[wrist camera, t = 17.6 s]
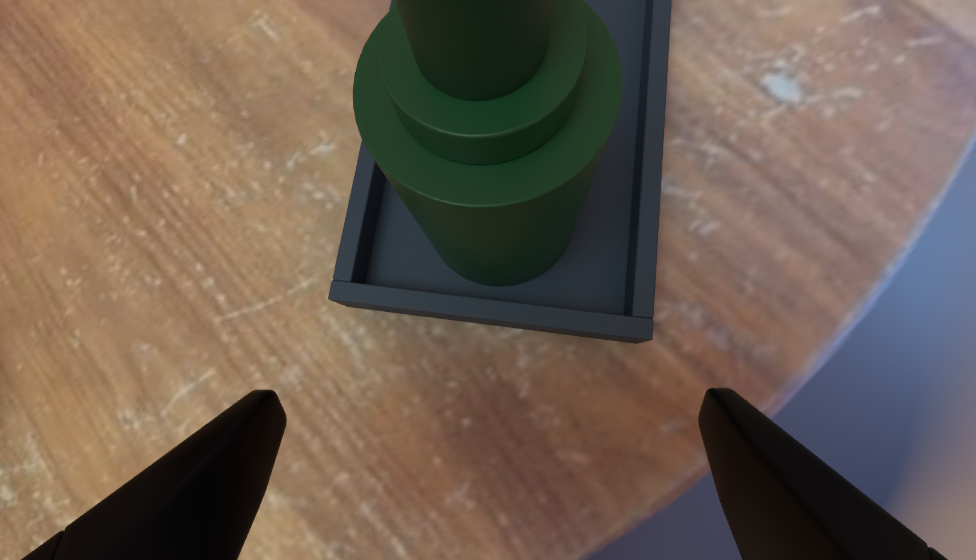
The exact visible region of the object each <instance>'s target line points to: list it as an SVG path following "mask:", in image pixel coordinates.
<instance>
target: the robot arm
mask: <svg viewBox="0 0 976 560" xmlns="http://www.w3.org/2000/svg"><path fill="white" fill-rule="evenodd" d="M286 422H287V418H286V414H285V411H284V409H283V407H282V405H281V403H280V400H279V398H278V396H277V394H276V392H274V391H273V390H254V391H252V392H250V393H248V394H247V395H246V396H244V397H243V398H242V399H240V400H239V401H238V402H236V403H235V404H233V405H232V406H231V407H229V408H228V409H227V410H225V411H224V412H222V413H221V414H220V415H218V416H217V417H216V418H214V419H213V420H212V421H210V422H209V423H207V424H206V425H205V426H203V427H202V428H201V429H199V430H198V431H197V432H195V433H194V434H192V435H191V436H190V437H188V438H187V439H186V440H184V441H183V442H182V443H180V444H179V445H177V446H176V447H175V448H173V449H172V450H171V451H169V452H168V453H167V454H165V455H164V456H162V457H161V458H160V459H158V460H157V461H156V462H154V463H153V464H151V465H150V466H149V467H147V468H146V469H145V470H143V471H142V472H141V473H139V474H138V475H136V476H135V477H134V478H132V479H131V480H130V481H128V482H127V483H126V484H124V485H123V486H121V487H120V488H119V489H117V490H116V491H115V492H113V493H112V494H110V495H109V496H108V497H106V498H105V499H104V500H102V501H101V502H100V503H98V504H97V505H95V506H94V507H93V508H91V509H90V510H89V511H87V512H86V513H84V514H83V515H82V516H80V517H79V518H78V519H76V520H75V521H74V522H72V523H71V524H69V525H68V526H67V527H66V528H65V531H64V530H63V531H60V532H58V533H57V534H56V535H54V536H53V537H52V538H50V539H49V540H47V541H46V542H45V543H43V544H42V545H41V546H39V547H38V548H37V549H35V550H34V551H32V552H31V553H30V554H28V555H27V556H25V557H24V558H23V559H21V560H237V559H238V557H239V554H240V552H241V549H242V547H243V545H244V542H245V540H246V538H247V535H248V533H249V531H250V528H251V526H252V523H253V521H254V519H255V516H256V514H257V512H258V509H259V507H260V504H261V502H262V499H263V497H264V494H265V491H266V488H267V485H268V482H269V479H270V476H271V473H272V469H273V466H274V463H275V460H276V457H277V453H278V450H279V447H280V444H281V440H282V437H283V434H284V431H285V427H286ZM698 422H699V428H700V432H701V435H702V439H703V443H704V446H705V450H706V453H707V457H708V461H709V464H710V468H711V472H712V475H713V479H714V483H715V486H716V490H717V493H718V496H719V500H720V503H721V505H722V508H723V511H724V514H725V516H726V519H727V521H728V524H729V526H730V529H731V531H732V534H733V536H734V539H735V542H736V544H737V546H738V549H739V552H740V554H741V557H742V559H743V560H948V559H946V558H945V557H944V556H943V555H941V554H940V553H939V552H937V551H936V550H935V549H933V548H931V547H928V546H927V543H926V542H925V541H923V540H922V539H921V538H920V537H918V536H917V535H916V534H914V533H913V532H912V531H911V530H909V529H908V528H907V527H906V526H904V525H903V524H902V523H901V522H899V521H898V520H897V519H895V518H894V517H893V516H892V515H890V514H889V513H888V512H887V511H885V510H884V509H883V508H882V507H880V506H879V505H878V504H876V503H875V502H874V501H873V500H871V499H870V498H869V497H867V496H866V495H865V494H864V493H862V492H861V491H860V490H859V489H858V488H856V487H855V486H853V485H852V484H851V483H850V482H849V481H847V480H846V479H845V478H843V477H842V476H841V475H840V474H838V473H837V472H836V471H835V470H833V469H832V468H831V467H830V466H828V465H827V464H826V463H824V462H823V461H822V460H821V459H820V458H818V457H817V456H816V455H814V454H813V453H812V452H811V451H809V450H808V449H807V448H806V447H804V446H803V445H802V444H800V443H799V442H798V441H797V440H795V439H794V438H793V437H792V436H790V435H789V434H788V433H787V432H785V431H784V430H783V429H781V428H780V427H779V426H778V425H776V424H775V423H774V422H773V421H771V420H770V419H769V418H768V417H766V416H765V415H764V414H763V413H761V412H760V411H759V410H758V409H756V408H755V407H754V406H753V405H751V404H750V403H749V402H747V401H746V400H745V399H744V398H742V397H741V396H740V395H739V394H737V393H736V392H735V391H733V390H732V389H729V388H709V389H708V390H707V391H706V393H705V396H704V399H703V403H702V406H701V409H700V412H699V417H698Z"/></svg>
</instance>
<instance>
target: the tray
mask: <svg viewBox="0 0 976 560" xmlns="http://www.w3.org/2000/svg"><path fill="white" fill-rule="evenodd" d="M584 1H585V2H586V3H587V4H588V5H589V6H590V7H591V8H592V9H593V10H594V11H595V12H596V13H597V14H598V16H599V17H600V18H601V20H602V21H603V23H604V24H605V25H606V27H607V29H608V31H609V33H610V34H611V36H612V38H613V40H614V43H615V46H616V49H617V52H618V54H619V58H620V64H621V69H622V86H623V89H622V97H621V105H620V108H619V112H618V116H617V119H616V122H615V125H614V127H613V130H612V132H611V135H610V138H609V140H608V143H607V145H606V148H605V151H604V153H603V156H602V158H601V161H600V164H599V166H598V169H597V171H596V174H595V176H594V179H593V182H592V184H591V187H590V189H589V192H588V195H587V197H586V200H585V202H584V205H583V207H582V210H581V213H580V215H579V218H578V220H577V223H576V226H575V228H574V231H573V233H572V236H571V238H570V241H569V243H568V245H567V247H566V249H565V251H564V252H563V254H562V256H561V257H560V258H559V259H558V260H557V262H556V263H555V264H554V265H553V266H552V267H551V268H550V269H548V270H547V271H546V272H544V273H543V274H542V275H540V276H538V277H536V278H534V279H533V280H530V281H528V282H525V283H522V284H518V285H514V286H505V287H493V286H486V285H482V284H478V283H475V282H472V281H470V280H468V279H465V278H464V277H462V276H460V275H459V274H457V273H456V272H454V271H453V270H452V269H451V268H450V267H449V266H448V265H447V264H446V263H445V262H444V261H443V260H442V258H441V257H440V256H439V254H438V253H437V251H436V250H435V248H434V247H433V245H432V244H431V242H430V241H429V239H428V238H427V237H426V235H425V234H424V232H423V231H422V229H421V228H420V226H419V225H418V223H417V222H416V220H415V219H414V217H413V216H412V214H411V213H410V212H409V210H408V209H407V207H406V206H405V204H404V203H403V201H402V200H401V198H400V197H399V195H398V194H397V192H396V191H395V189H394V188H393V186H392V185H391V184H390V182H389V181H388V179H387V178H386V176H385V175H384V173H383V172H382V170H381V169H380V167H379V166H378V164H377V163H376V161H375V160H374V159H373V157H372V156H371V154H370V153H369V151H368V149H367V147H366V145H365V143H364V142H363V140H362V143H361V147H360V152H359V157H358V161H357V166H356V171H355V176H354V180H353V185H352V190H351V195H350V199H349V204H348V209H347V214H346V218H345V223H344V228H343V232H342V237H341V242H340V247H339V251H338V256H337V261H336V266H335V270H334V275H333V280H332V283H331V288H330V293H329V297H328V299H329V300H331V301H334V302H337V303H339V304H342V305H345V306H347V307H354V308H362V309H370V310H377V311H385V312H393V313H401V314H409V315H417V316H424V317H432V318H440V319H448V320H456V321H464V322H472V323H479V324H487V325H495V326H503V327H511V328H519V329H527V330H534V331H542V332H550V333H558V334H566V335H574V336H582V337H589V338H597V339H605V340H613V341H621V342H629V343H642V342H646V341H650V340H652V336H653V314H654V297H655V279H656V262H657V245H658V227H659V210H660V192H661V175H662V157H663V140H664V123H665V105H666V88H667V70H668V53H669V35H670V18H671V0H584ZM395 2H396V0H391V5H390V9H391V8H392V6H393V5H394V3H395ZM389 11H390V10H389Z"/></svg>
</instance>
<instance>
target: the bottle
mask: <svg viewBox="0 0 976 560" xmlns="http://www.w3.org/2000/svg"><path fill="white" fill-rule="evenodd" d="M622 89H623V86H622V69H621V64H620V58H619V54H618V52H617V49H616V46H615V43H614V40H613V38H612V36H611V34H610V33H609V31H608V29H607V27H606V25H605V24H604V23H603V21H602V20H601V18H600V17H599V16H598V14H597V13H596V12H595V11H594V10H593V9H592V8H591V7H590V6H589V5H588V4H587V3H586V2H585V1H584V0H396V2H395V3H394V5H393V6H392V8H391V9H390V11H389V12H388V13H387V14H386V16H385V17H384V18H383V19H382V20H381V21H380V22H379V24H378V25H377V26H376V28H375V29H374V30H373V32H372V33H371V35H370V37H369V39H368V40H367V42H366V44H365V46H364V48H363V50H362V53H361V55H360V58H359V60H358V64H357V68H356V72H355V77H354V85H353V108H354V113H355V119H356V123H357V126H358V129H359V132H360V135H361V138H362V140H363V142H364V143H365V145H366V147H367V149H368V151H369V153H370V154H371V156H372V157H373V159H374V160H375V161H376V163H377V164H378V166H379V167H380V169H381V170H382V172H383V173H384V175H385V176H386V178H387V179H388V181H389V182H390V184H391V185H392V186H393V188H394V189H395V191H396V192H397V194H398V195H399V197H400V198H401V200H402V201H403V203H404V204H405V206H406V207H407V209H408V210H409V212H410V213H411V214H412V216H413V217H414V219H415V220H416V222H417V223H418V225H419V226H420V228H421V229H422V231H423V232H424V234H425V235H426V237H427V238H428V239H429V241H430V242H431V244H432V245H433V247H434V248H435V250H436V251H437V253H438V254H439V256H440V257H441V258H442V260H443V261H444V262H445V263H446V264H447V265H448V266H449V267H450V268H451V269H452V270H453V271H454V272H456V273H457V274H459V275H460V276H462V277H464V278H465V279H468V280H470V281H472V282H475V283H478V284H482V285H486V286H493V287H505V286H514V285H518V284H522V283H525V282H528V281H530V280H533V279H534V278H536V277H538V276H540V275H542V274H543V273H544V272H546V271H547V270H548V269H550V268H551V267H552V266H553V265H554V264H555V263H556V262H557V260H558V259H559V258H560V257H561V256H562V254H563V252H564V251H565V249H566V247H567V245H568V243H569V241H570V238H571V236H572V233H573V231H574V228H575V226H576V223H577V220H578V218H579V215H580V213H581V210H582V207H583V205H584V202H585V200H586V197H587V195H588V192H589V189H590V187H591V184H592V182H593V179H594V176H595V174H596V171H597V169H598V166H599V164H600V161H601V158H602V156H603V153H604V151H605V148H606V145H607V143H608V140H609V138H610V135H611V132H612V130H613V127H614V125H615V122H616V119H617V116H618V112H619V108H620V105H621V97H622Z"/></svg>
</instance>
